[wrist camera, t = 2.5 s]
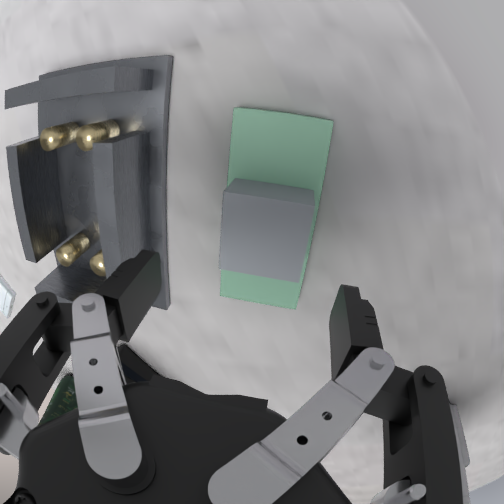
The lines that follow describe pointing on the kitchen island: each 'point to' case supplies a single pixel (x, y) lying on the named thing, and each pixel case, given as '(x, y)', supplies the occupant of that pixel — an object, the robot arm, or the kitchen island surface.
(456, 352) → the kitchen island surface
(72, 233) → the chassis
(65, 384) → the coffee jar
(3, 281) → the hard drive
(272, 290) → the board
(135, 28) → the kitchen island surface
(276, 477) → the robot arm
